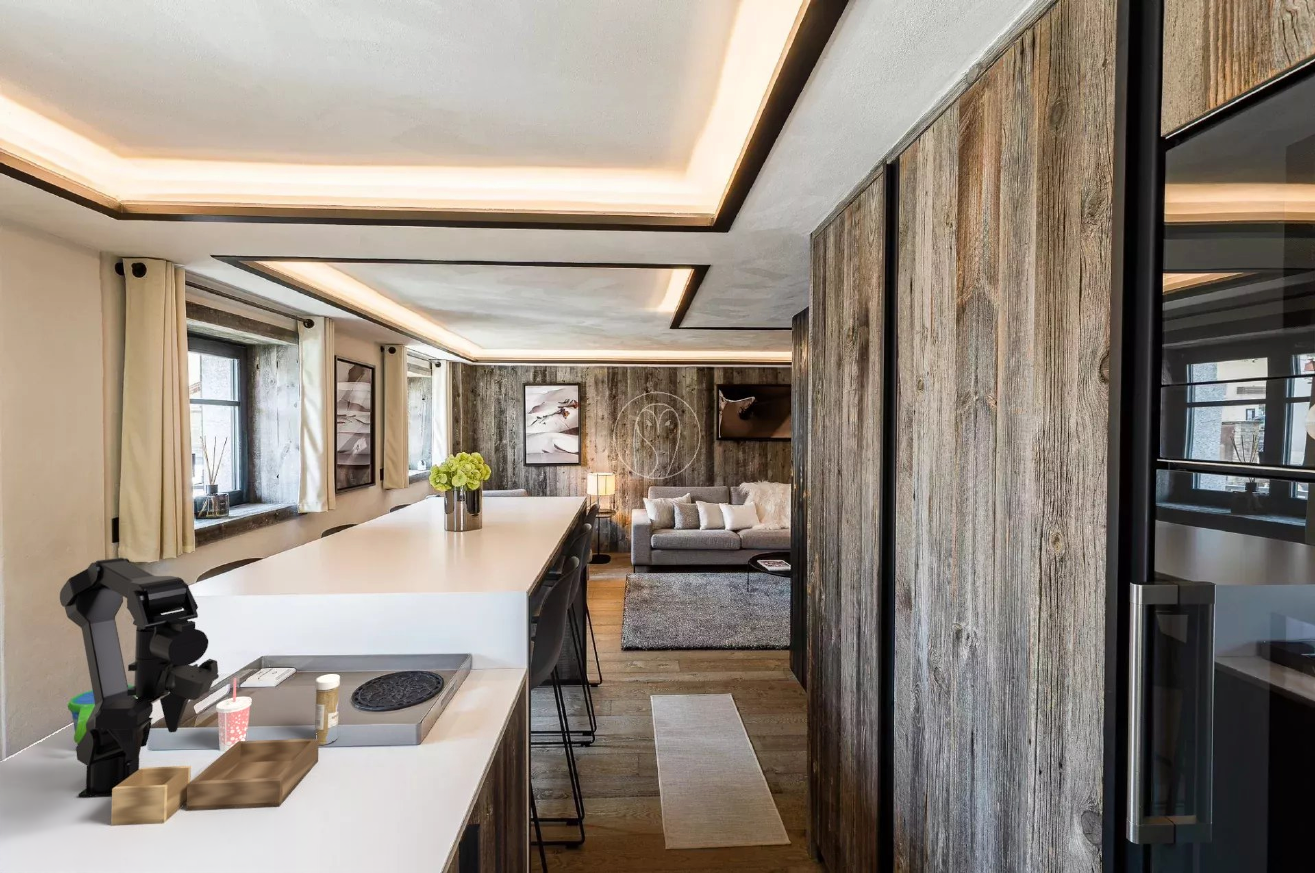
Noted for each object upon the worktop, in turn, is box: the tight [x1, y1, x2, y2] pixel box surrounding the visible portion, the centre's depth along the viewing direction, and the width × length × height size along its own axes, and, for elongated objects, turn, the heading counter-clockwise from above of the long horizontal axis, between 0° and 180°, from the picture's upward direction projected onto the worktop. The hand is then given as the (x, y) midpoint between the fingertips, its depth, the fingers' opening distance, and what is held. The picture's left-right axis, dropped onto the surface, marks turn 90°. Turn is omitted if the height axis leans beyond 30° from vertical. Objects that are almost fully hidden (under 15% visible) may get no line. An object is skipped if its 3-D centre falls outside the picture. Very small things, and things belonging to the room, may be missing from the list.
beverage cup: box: [216, 677, 253, 753], centre depth 125 cm, size 6×6×14 cm
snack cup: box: [67, 684, 137, 746], centre depth 125 cm, size 16×10×10 cm
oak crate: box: [110, 765, 192, 826], centre depth 103 cm, size 8×6×6 cm
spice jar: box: [314, 673, 341, 746], centre depth 128 cm, size 5×5×14 cm
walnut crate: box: [186, 738, 320, 812], centre depth 111 cm, size 15×15×4 cm
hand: (154, 744), depth 103 cm, fingers open, 9 cm apart
